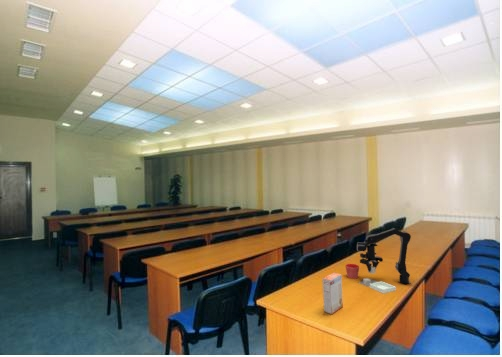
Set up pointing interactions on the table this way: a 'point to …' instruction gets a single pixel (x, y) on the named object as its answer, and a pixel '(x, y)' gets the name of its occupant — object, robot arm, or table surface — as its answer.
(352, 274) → the flower pot
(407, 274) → the robot arm
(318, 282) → the table surface
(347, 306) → the table surface
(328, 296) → the cracker box
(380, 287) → the tray
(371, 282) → the lid board
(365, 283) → the grey cube
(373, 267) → the light grey cube
